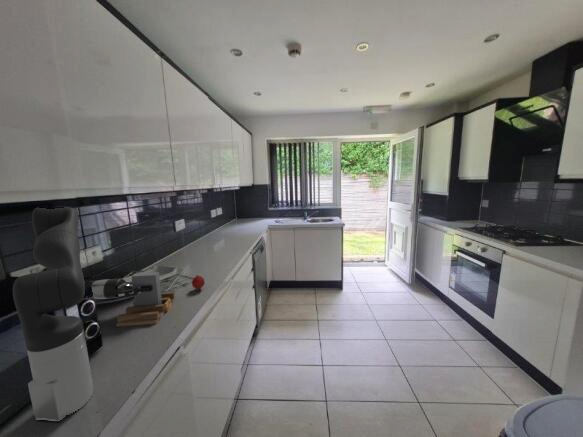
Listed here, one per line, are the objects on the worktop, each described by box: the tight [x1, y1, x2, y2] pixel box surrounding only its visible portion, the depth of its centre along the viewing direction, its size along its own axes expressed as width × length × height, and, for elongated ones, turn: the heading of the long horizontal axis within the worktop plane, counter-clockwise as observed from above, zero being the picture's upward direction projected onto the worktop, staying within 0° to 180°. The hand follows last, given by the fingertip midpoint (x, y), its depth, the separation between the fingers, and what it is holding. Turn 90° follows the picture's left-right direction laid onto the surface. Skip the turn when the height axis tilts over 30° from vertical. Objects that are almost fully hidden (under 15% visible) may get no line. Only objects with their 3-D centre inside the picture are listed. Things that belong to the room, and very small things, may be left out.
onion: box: [191, 274, 205, 291], centre depth 114 cm, size 6×6×8 cm
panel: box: [131, 271, 162, 306], centre depth 94 cm, size 3×9×15 cm, turn 97°
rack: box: [115, 291, 177, 328], centre depth 95 cm, size 20×15×4 cm
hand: (154, 285), depth 94 cm, fingers open, 4 cm apart
